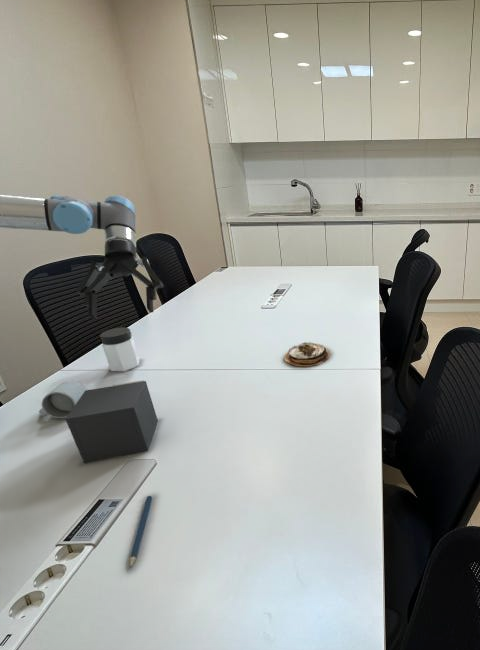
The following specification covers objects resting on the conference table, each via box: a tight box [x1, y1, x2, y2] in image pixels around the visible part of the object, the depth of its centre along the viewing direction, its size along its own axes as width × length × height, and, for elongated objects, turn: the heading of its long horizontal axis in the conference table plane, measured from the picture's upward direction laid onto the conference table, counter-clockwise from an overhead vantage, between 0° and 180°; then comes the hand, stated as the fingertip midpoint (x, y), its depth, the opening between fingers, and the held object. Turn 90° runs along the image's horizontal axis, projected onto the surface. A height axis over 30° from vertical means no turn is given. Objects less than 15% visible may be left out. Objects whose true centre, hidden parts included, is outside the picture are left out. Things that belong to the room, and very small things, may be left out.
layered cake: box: [284, 341, 331, 367], centre depth 129 cm, size 15×15×4 cm
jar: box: [99, 327, 141, 372], centre depth 124 cm, size 9×8×12 cm
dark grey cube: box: [64, 380, 159, 464], centre depth 89 cm, size 12×13×12 cm
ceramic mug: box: [38, 380, 88, 419], centre depth 102 cm, size 11×8×8 cm
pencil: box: [129, 495, 153, 569], centre depth 68 cm, size 1×1×15 cm
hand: (121, 313), depth 102 cm, fingers open, 13 cm apart
